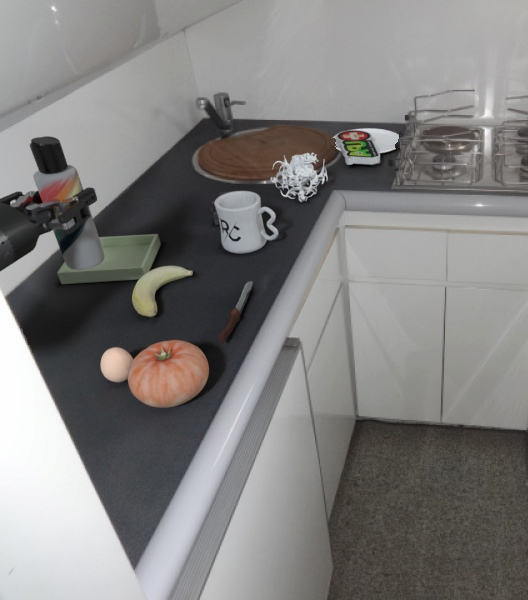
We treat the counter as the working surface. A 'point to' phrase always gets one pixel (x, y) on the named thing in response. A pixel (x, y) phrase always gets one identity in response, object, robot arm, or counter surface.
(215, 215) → the reflex sight
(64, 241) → the lotion bottle
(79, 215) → the robot arm
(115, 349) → the egg
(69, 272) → the green tray
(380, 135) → the plate
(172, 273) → the fruit
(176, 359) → the tomato
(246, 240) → the mug
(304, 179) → the figurine
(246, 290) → the knife
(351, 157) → the sign
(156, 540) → the counter surface
